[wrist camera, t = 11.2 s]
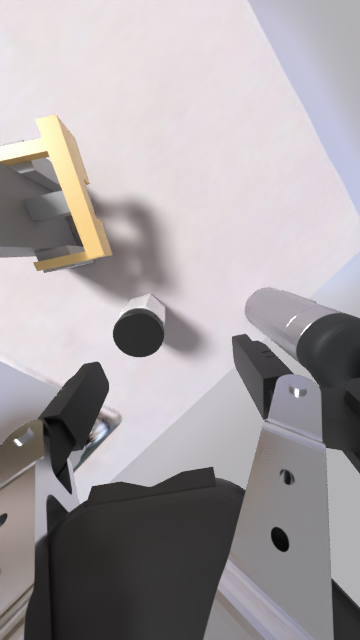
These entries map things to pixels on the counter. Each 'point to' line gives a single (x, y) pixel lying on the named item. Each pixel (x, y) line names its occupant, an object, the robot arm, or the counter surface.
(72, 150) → the tan u-shaped bracket
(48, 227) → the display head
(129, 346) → the jar
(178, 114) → the counter surface
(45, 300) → the counter surface
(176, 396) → the counter surface
